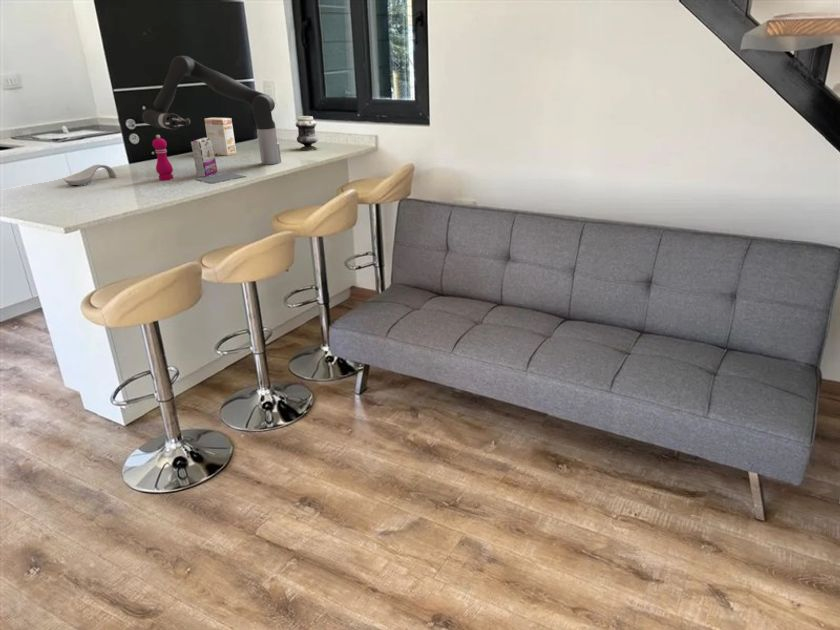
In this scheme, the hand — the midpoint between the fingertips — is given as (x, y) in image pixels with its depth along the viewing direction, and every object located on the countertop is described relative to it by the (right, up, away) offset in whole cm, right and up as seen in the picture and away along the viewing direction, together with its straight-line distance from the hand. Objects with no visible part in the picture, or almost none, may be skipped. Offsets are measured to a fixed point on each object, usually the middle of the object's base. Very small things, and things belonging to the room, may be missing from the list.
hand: (187, 123), depth 291 cm
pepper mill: (-8, -28, -4) cm, 29 cm away
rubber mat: (+18, -28, -7) cm, 34 cm away
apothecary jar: (+45, +5, +66) cm, 80 cm away
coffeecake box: (-2, 0, +59) cm, 59 cm away
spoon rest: (-42, -29, -5) cm, 52 cm away
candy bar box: (+9, -24, +3) cm, 26 cm away
